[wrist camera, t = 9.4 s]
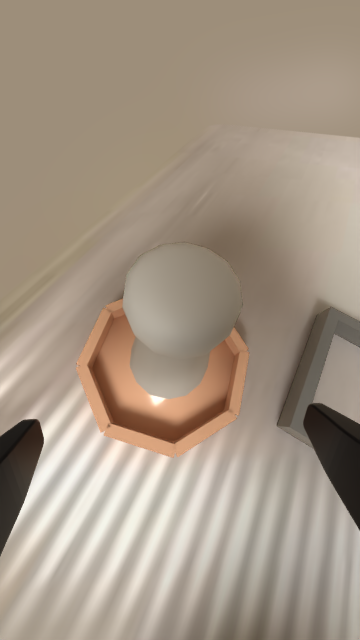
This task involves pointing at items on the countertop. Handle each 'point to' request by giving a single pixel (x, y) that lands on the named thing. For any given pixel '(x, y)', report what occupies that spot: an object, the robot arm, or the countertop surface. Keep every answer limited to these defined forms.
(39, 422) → the robot arm
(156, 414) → the terracotta dish
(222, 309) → the salt shaker
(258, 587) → the countertop surface
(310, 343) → the charcoal tray
